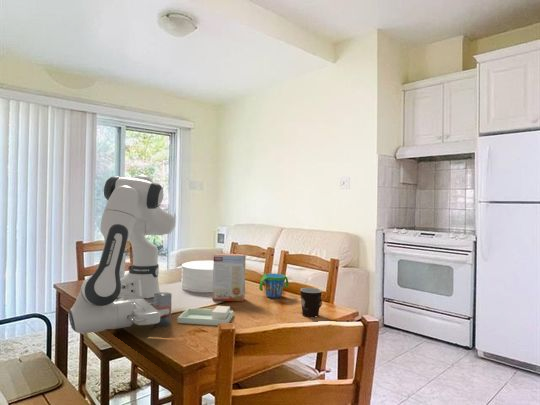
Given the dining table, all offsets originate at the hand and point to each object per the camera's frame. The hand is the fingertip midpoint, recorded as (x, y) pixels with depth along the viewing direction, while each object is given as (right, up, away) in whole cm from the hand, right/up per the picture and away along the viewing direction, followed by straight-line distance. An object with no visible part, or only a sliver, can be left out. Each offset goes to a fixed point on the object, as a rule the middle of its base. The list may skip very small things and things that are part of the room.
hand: (164, 308), depth 130 cm
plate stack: (+5, -7, +63) cm, 63 cm away
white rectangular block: (+19, -6, +6) cm, 21 cm away
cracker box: (+19, -7, +37) cm, 42 cm away
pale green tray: (+14, -6, +6) cm, 16 cm away
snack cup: (+39, -8, +45) cm, 60 cm away
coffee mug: (+54, -8, +15) cm, 57 cm away
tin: (-1, -6, -1) cm, 6 cm away
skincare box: (-45, -5, +64) cm, 78 cm away
